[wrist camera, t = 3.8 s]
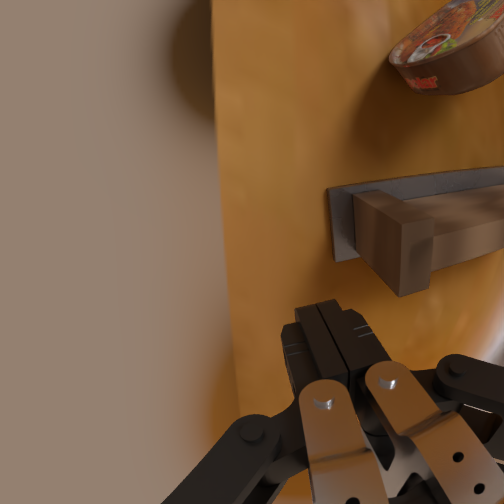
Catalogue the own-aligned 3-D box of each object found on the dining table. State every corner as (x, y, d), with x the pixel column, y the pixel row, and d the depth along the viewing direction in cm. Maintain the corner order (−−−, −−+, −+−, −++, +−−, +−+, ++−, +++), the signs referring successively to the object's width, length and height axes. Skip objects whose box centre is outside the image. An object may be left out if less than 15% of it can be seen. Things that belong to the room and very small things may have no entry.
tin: (465, -10, 12) (532, -29, 5) (485, 19, 13) (555, 9, 6) (366, 69, 16) (450, 46, 8) (395, 106, 17) (486, 107, 9)
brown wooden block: (521, 171, 18) (568, 189, 13) (518, 212, 20) (562, 235, 15) (352, 194, 18) (401, 224, 13) (356, 251, 20) (398, 297, 14)
